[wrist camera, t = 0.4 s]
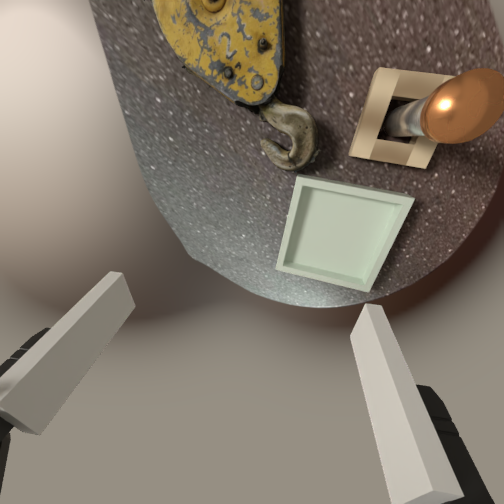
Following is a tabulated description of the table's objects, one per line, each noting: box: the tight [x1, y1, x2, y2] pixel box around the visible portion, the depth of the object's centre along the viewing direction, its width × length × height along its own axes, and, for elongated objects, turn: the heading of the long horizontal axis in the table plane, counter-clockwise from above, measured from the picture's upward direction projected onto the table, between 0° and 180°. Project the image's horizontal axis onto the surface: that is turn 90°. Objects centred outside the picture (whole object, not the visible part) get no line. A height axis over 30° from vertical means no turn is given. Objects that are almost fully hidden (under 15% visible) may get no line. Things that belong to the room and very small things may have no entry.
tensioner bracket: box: [348, 67, 456, 169], centre depth 27 cm, size 9×9×2 cm
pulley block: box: [144, 0, 321, 173], centre depth 27 cm, size 14×6×30 cm
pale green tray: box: [276, 174, 415, 292], centre depth 34 cm, size 15×15×3 cm
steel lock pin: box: [383, 68, 504, 144], centre depth 22 cm, size 4×4×14 cm
